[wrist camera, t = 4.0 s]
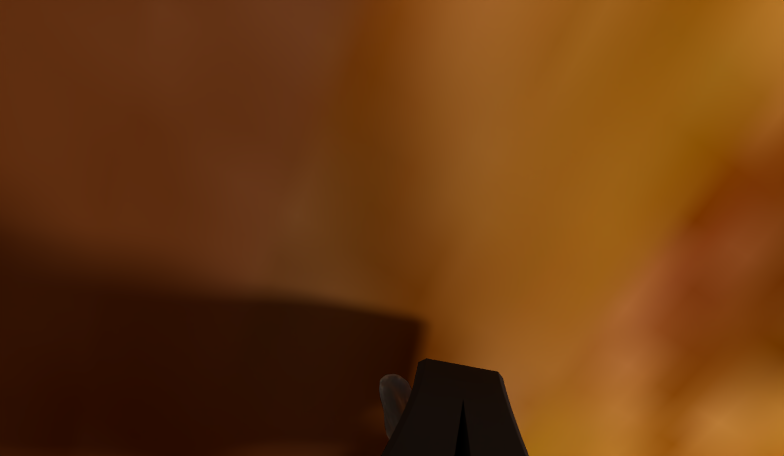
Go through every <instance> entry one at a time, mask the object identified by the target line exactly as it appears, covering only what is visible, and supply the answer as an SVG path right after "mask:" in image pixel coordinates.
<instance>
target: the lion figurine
mask: <svg viewBox="0 0 784 456" xmlns="http://www.w3.org/2000/svg"><path fill="white" fill-rule="evenodd" d="M411 391H412V390H411V387H410V385H409V383H408V382H407V381H406V380H405V379H404V378H402V377H401V376H400V375H396V374H389V375H385V376H384V377H382V378H381V380H380V386H379V392H380V399H381V402H382V406H383V409H384V421H385V429H386V434H387V436H388V438H389V440H390V438H391V436H392V434H393V432H394V430H395V428H396V426H397V424H398V422H399V420H400V418H401V416H402V413H403V411H404V409H405V406H406V404H407V402H408V399H409V397H410V394H411Z"/></svg>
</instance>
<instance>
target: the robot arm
mask: <svg viewBox="0 0 784 456" xmlns="http://www.w3.org/2000/svg"><path fill="white" fill-rule="evenodd" d="M381 456H529V455H528V452H527V450H526V447H525V445H524V442H523V440H522V437H521V434H520V431H519V429H518V426H517V423H516V420H515V417H514V414H513V411H512V408H511V405H510V402H509V399H508V395H507V392H506V388H505V385H504V381H503V378H502V376H501V375H500V374H499V372H497V371H491V370H486V369H480V368H475V367H470V366H464V365H459V364H454V363H448V362H443V361H438V360H432V359H427V358H426V359H424V360H422V361H420V362H418V367H417V372H416V376H415V381H414V385H413V388H412V391H411V394H410V397H409V399H408V402H407V404H406V406H405V409H404V411H403V413H402V416H401V418H400V420H399V422H398V424H397V426H396V428H395V430H394V432H393V434H392V436H391V438H390V440H389V442H388V444H387V446H386V448H385V449H384V451H383V453H382V455H381Z"/></svg>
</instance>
